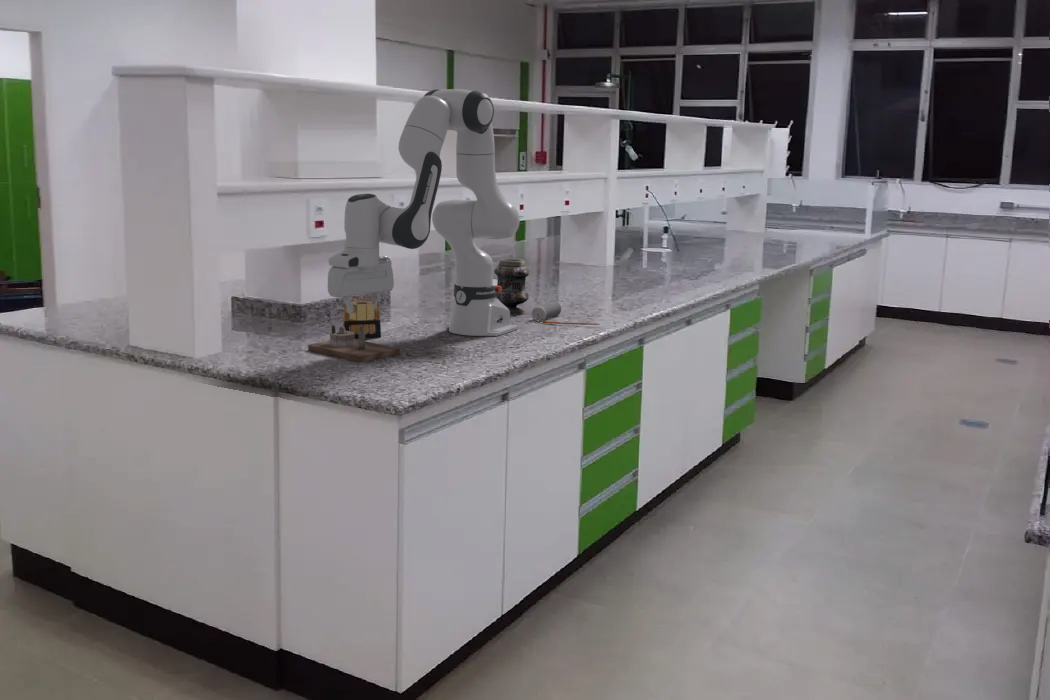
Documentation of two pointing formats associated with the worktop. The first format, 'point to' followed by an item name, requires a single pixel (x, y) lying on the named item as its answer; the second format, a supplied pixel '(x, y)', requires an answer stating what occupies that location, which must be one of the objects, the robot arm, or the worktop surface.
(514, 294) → the apothecary jar
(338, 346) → the gear board
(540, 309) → the motor
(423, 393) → the worktop surface
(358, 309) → the octagonal hollow tube
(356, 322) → the ammunition clip
